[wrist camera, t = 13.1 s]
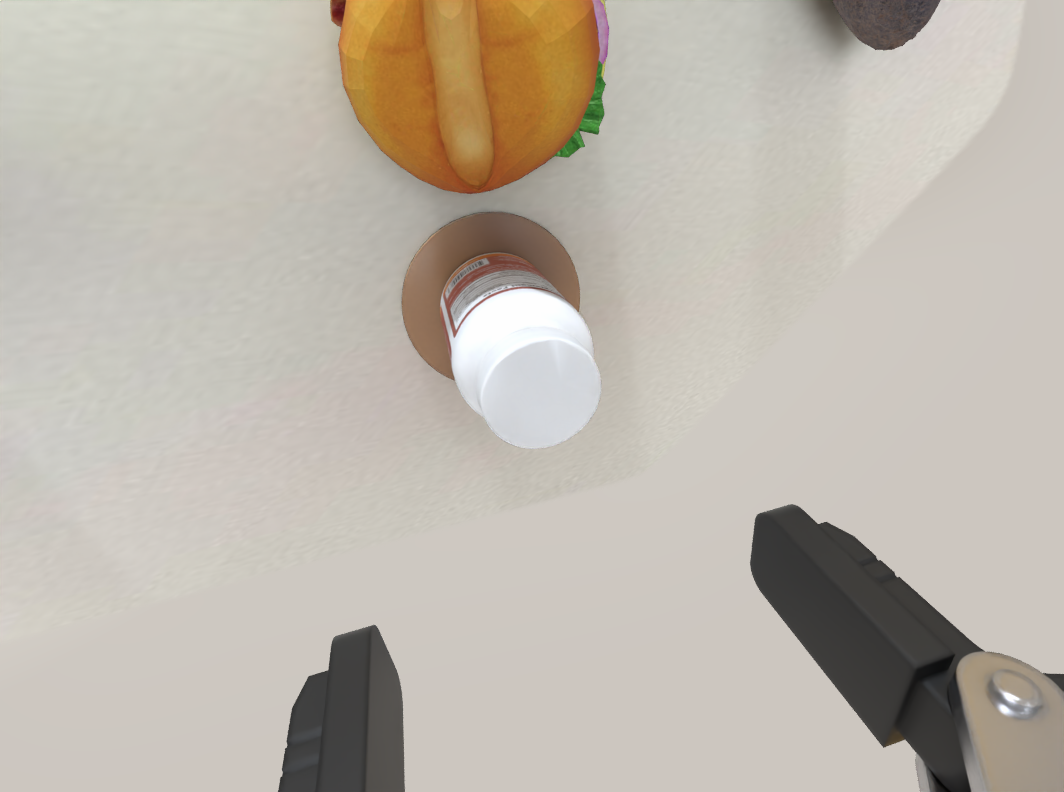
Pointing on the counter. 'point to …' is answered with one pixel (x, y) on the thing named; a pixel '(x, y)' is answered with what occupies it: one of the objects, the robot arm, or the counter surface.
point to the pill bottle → (519, 351)
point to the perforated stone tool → (885, 20)
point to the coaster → (462, 245)
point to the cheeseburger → (474, 83)
